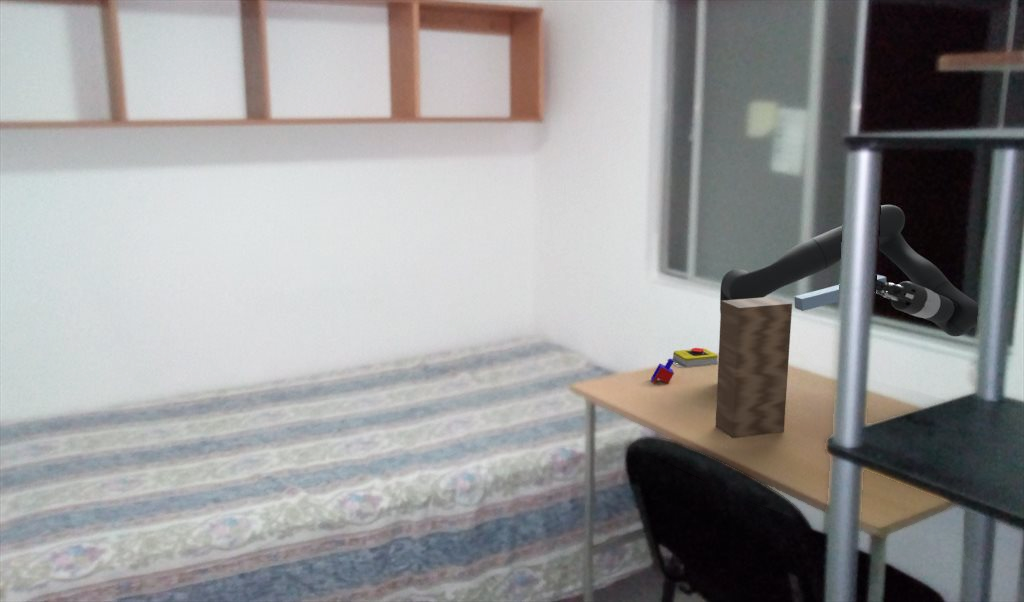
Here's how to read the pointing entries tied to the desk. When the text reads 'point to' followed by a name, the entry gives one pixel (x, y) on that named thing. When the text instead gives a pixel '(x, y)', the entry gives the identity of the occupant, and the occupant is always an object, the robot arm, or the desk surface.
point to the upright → (753, 366)
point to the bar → (821, 297)
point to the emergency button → (694, 357)
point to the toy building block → (663, 372)
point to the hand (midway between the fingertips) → (864, 280)
